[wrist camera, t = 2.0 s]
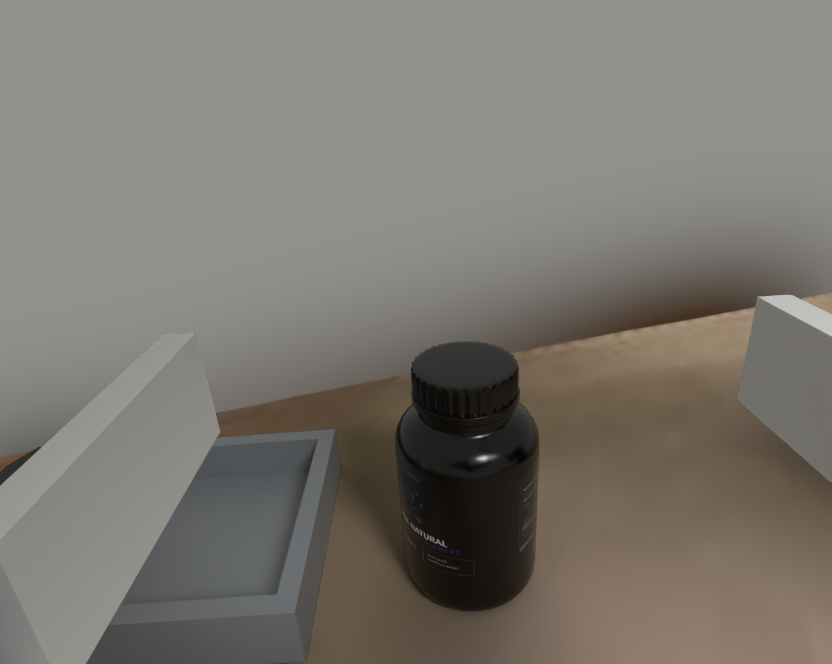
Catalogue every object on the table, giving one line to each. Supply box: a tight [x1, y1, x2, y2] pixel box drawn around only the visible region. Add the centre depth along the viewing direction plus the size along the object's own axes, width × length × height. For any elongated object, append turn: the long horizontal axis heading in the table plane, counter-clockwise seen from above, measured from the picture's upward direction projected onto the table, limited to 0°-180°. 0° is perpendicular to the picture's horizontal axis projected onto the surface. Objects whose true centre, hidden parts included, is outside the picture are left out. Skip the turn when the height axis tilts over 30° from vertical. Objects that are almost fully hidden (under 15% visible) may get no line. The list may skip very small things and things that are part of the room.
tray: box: [86, 429, 341, 664], centre depth 30 cm, size 14×14×3 cm
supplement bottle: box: [395, 341, 539, 611], centre depth 26 cm, size 7×7×12 cm
